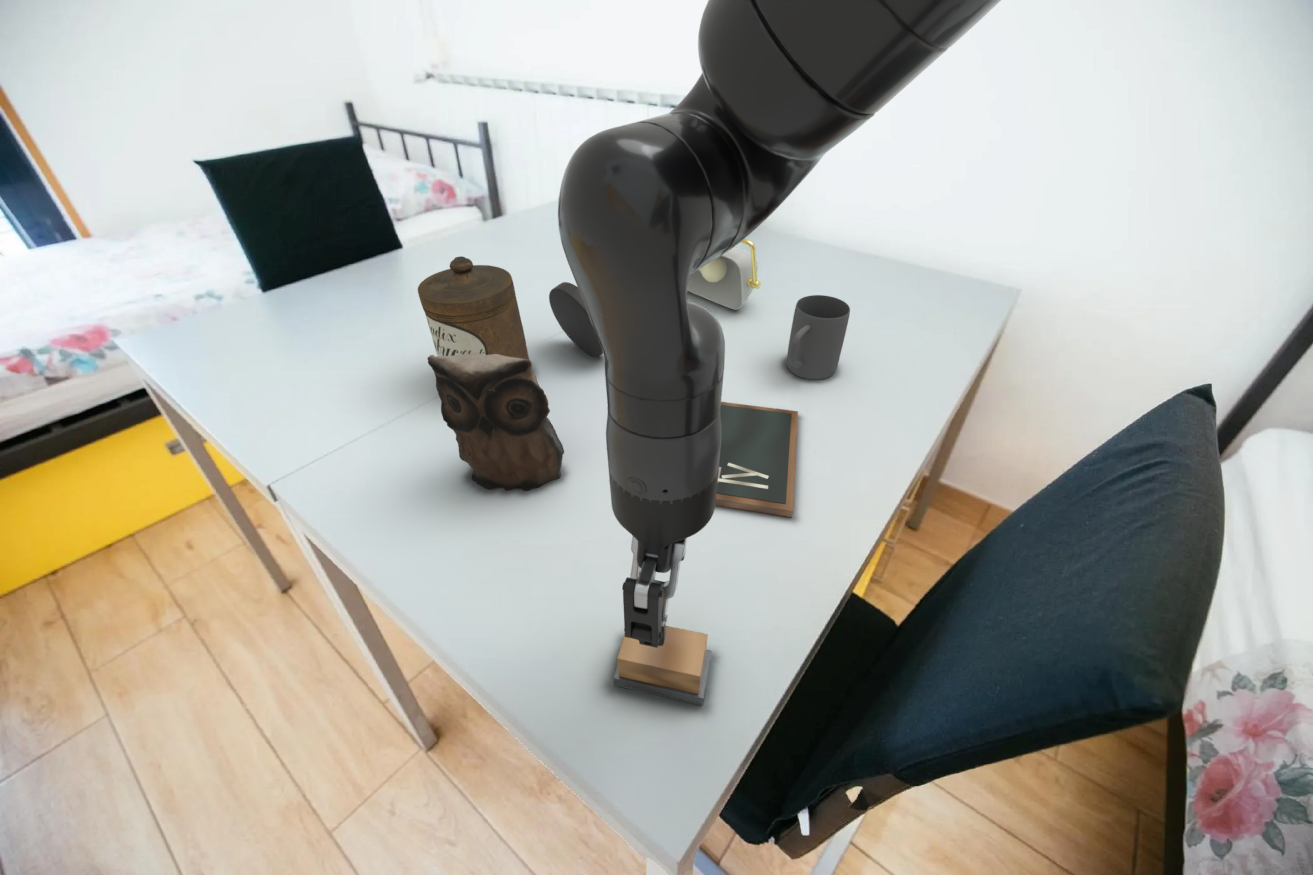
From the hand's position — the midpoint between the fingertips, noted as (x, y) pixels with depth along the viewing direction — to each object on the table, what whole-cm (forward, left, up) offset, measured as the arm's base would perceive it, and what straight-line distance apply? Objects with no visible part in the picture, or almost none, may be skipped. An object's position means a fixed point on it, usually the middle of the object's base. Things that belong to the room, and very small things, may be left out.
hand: (662, 595), depth 47 cm
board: (-3, -35, -13) cm, 37 cm away
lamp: (+18, -73, -13) cm, 76 cm away
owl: (+27, -26, -13) cm, 40 cm away
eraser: (0, 0, -13) cm, 13 cm away
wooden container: (+42, -46, -13) cm, 64 cm away
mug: (-13, -60, -13) cm, 63 cm away
